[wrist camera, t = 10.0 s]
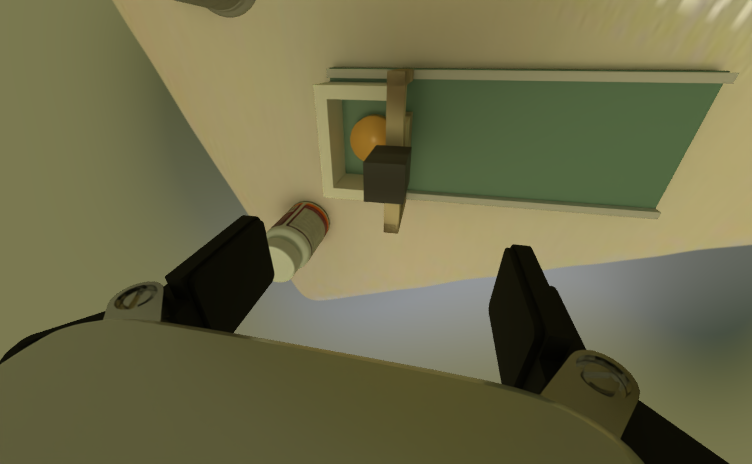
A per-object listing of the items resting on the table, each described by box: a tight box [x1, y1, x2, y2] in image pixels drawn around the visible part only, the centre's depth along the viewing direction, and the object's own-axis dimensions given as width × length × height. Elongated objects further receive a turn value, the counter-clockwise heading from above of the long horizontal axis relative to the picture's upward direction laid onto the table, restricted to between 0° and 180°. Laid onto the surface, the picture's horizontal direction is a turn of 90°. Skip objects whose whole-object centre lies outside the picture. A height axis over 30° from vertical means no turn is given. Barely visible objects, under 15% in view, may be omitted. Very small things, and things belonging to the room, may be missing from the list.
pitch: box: [313, 67, 739, 219], centre depth 30 cm, size 14×36×6 cm, turn 90°
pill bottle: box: [266, 202, 329, 282], centre depth 38 cm, size 6×6×11 cm
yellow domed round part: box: [350, 114, 386, 161], centre depth 33 cm, size 5×5×2 cm
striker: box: [363, 69, 414, 234], centre depth 27 cm, size 14×3×14 cm, turn 0°
